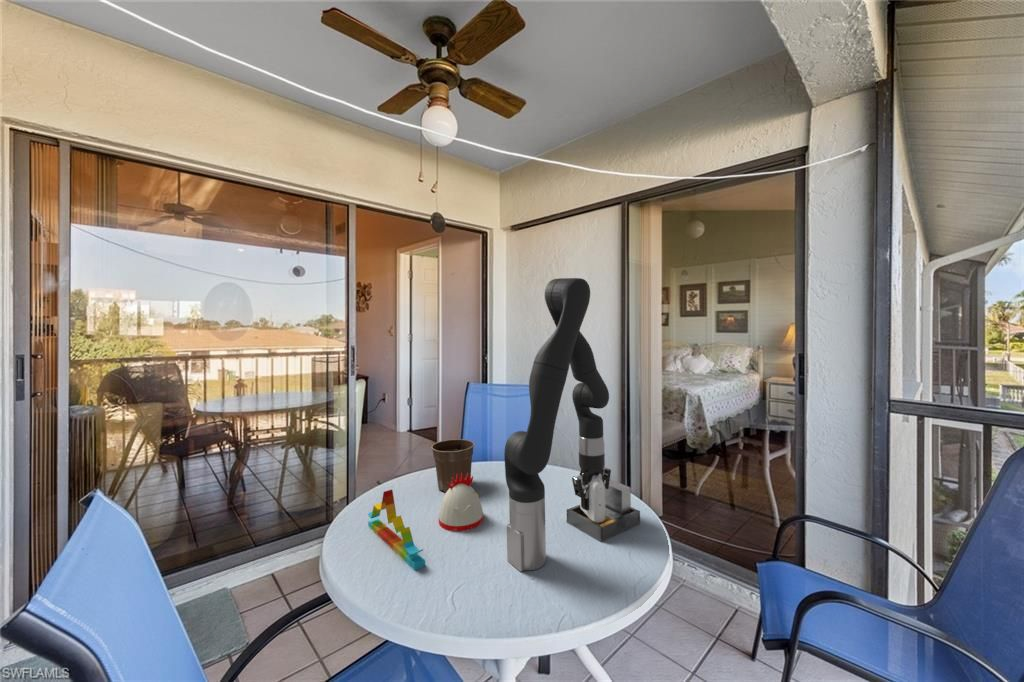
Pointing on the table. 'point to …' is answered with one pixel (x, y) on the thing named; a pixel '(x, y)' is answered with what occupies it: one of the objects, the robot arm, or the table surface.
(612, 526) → the rack
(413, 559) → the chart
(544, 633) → the table surface
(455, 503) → the kitchen timer
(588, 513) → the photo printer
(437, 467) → the plant pot
